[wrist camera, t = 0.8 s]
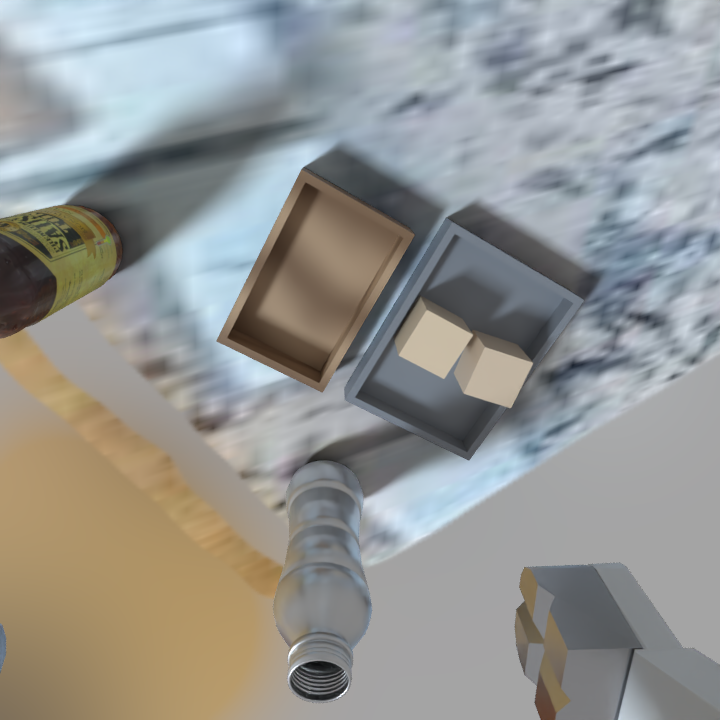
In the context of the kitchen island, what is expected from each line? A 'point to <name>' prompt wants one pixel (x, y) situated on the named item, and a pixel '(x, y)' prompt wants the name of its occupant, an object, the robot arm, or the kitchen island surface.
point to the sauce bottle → (52, 262)
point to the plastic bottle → (322, 581)
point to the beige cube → (492, 369)
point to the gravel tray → (481, 313)
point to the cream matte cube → (432, 337)
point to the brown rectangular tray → (314, 281)
